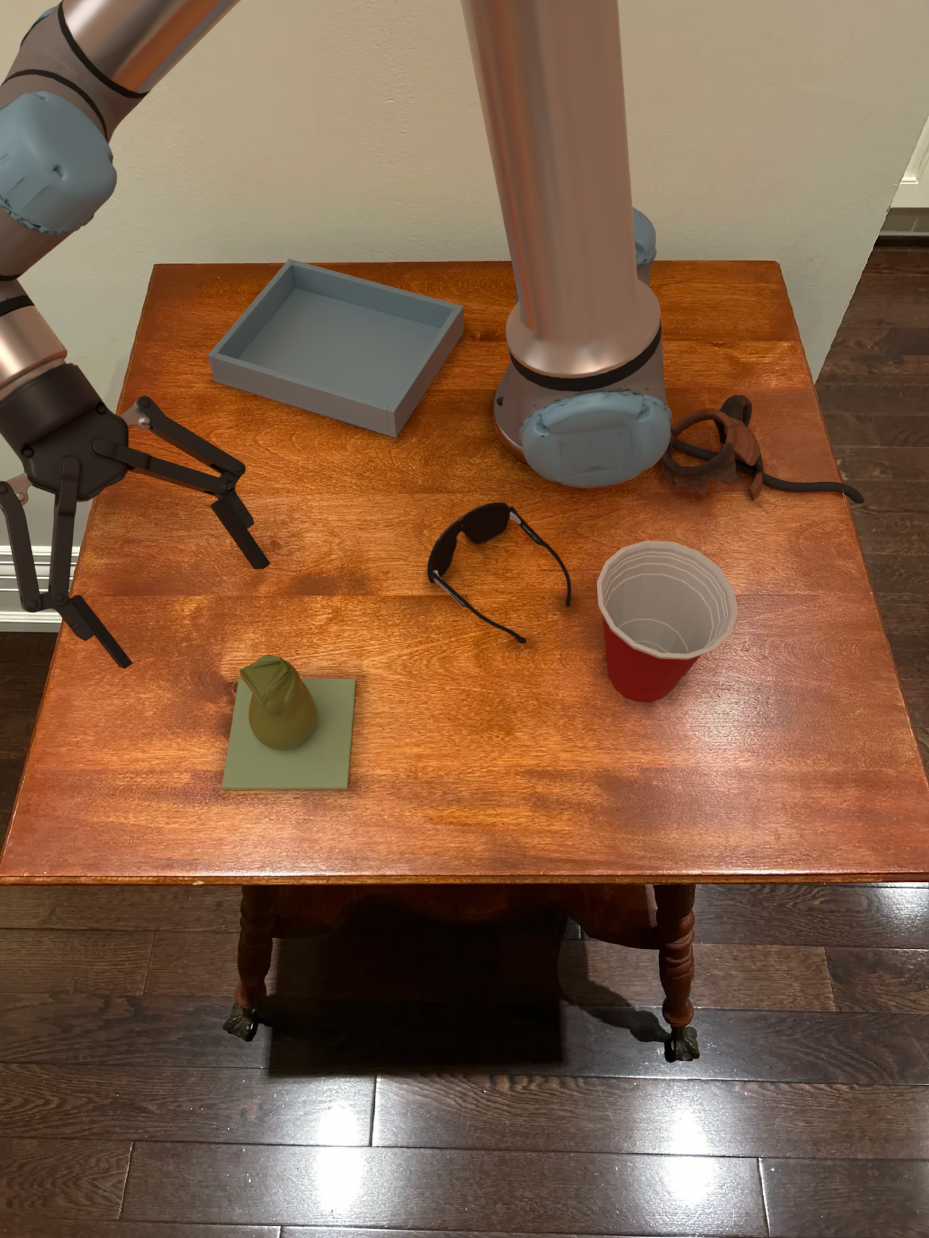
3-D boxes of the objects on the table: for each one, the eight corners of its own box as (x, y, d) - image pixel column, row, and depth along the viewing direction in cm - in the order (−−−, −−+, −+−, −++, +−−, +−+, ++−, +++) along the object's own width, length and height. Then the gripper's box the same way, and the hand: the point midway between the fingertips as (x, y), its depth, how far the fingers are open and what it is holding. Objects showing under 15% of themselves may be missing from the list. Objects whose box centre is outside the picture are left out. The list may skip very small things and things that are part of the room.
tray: (463, 332, 106) (463, 306, 103) (396, 438, 97) (393, 412, 94) (293, 285, 111) (288, 258, 108) (214, 381, 102) (206, 355, 99)
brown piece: (756, 528, 91) (730, 481, 85) (667, 522, 97) (636, 477, 91) (791, 424, 94) (767, 371, 88) (702, 424, 100) (675, 375, 94)
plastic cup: (703, 741, 78) (737, 666, 68) (572, 718, 79) (587, 641, 69) (711, 632, 84) (743, 548, 74) (589, 612, 85) (605, 527, 75)
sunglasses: (495, 517, 91) (501, 486, 87) (584, 599, 88) (595, 572, 83) (413, 578, 87) (415, 549, 83) (503, 667, 84) (510, 642, 79)
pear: (333, 739, 78) (316, 677, 70) (276, 773, 76) (252, 714, 68) (299, 690, 81) (279, 625, 72) (243, 723, 79) (216, 660, 71)
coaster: (356, 681, 82) (355, 678, 81) (348, 790, 76) (347, 787, 76) (239, 681, 82) (238, 678, 81) (223, 790, 76) (221, 787, 76)
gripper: (157, 318, 79) (299, 531, 86) (-128, 478, 70) (57, 705, 76) (178, 294, 73) (330, 526, 79) (-133, 467, 63) (69, 715, 70)
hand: (196, 614), depth 78 cm, fingers open, 13 cm apart
